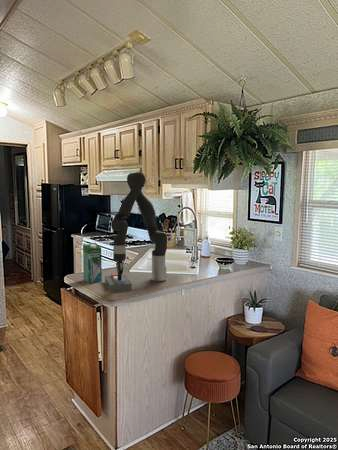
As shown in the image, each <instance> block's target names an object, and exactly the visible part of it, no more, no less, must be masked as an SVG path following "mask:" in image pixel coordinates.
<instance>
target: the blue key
mask: <svg viewBox="0 0 338 450" xmlns="http://www.w3.org/2000/svg"><path fill="white" fill-rule="evenodd" d="M115 284H116V285H119V284H125V280H124V279H122V280H118V279H115Z"/></svg>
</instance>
